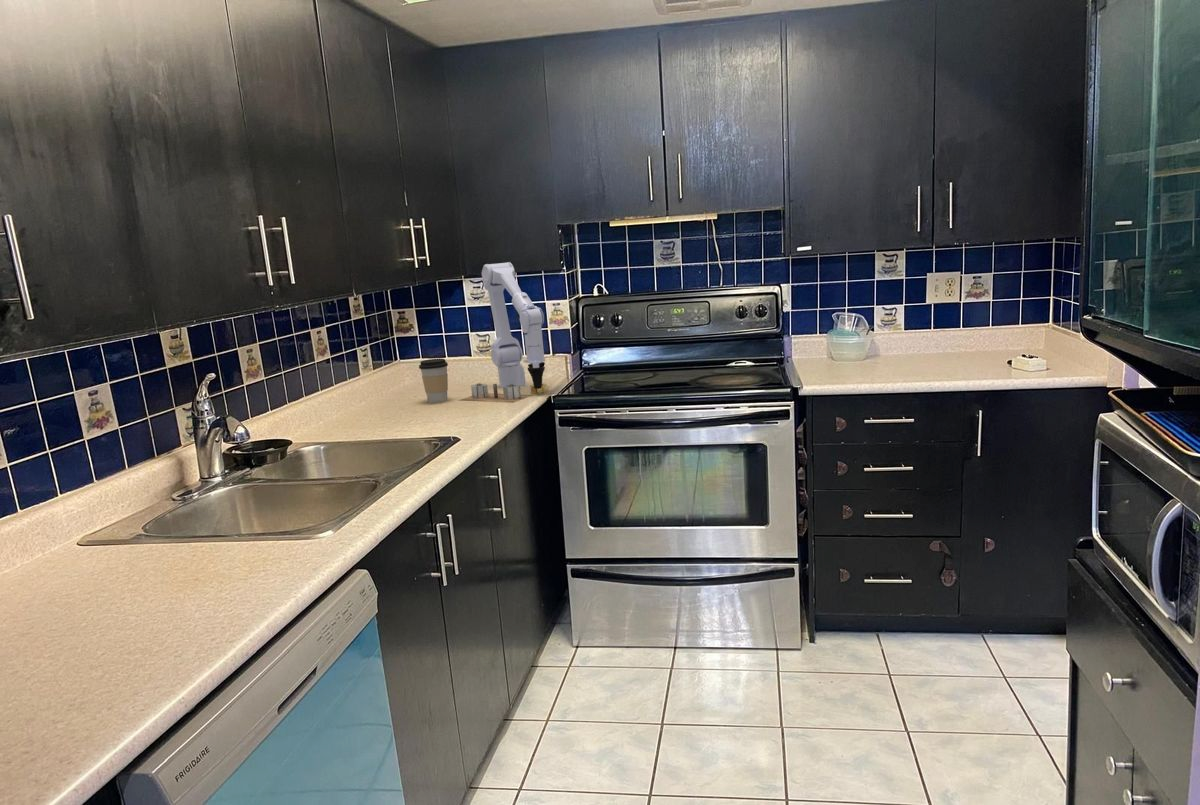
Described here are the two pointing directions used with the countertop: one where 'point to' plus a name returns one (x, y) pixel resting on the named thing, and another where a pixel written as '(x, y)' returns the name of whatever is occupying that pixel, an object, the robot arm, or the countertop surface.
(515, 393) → the steel gear
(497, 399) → the gear board
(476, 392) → the steel gear
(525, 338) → the robot arm
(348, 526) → the countertop surface
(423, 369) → the coffee cup
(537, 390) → the brass gear
